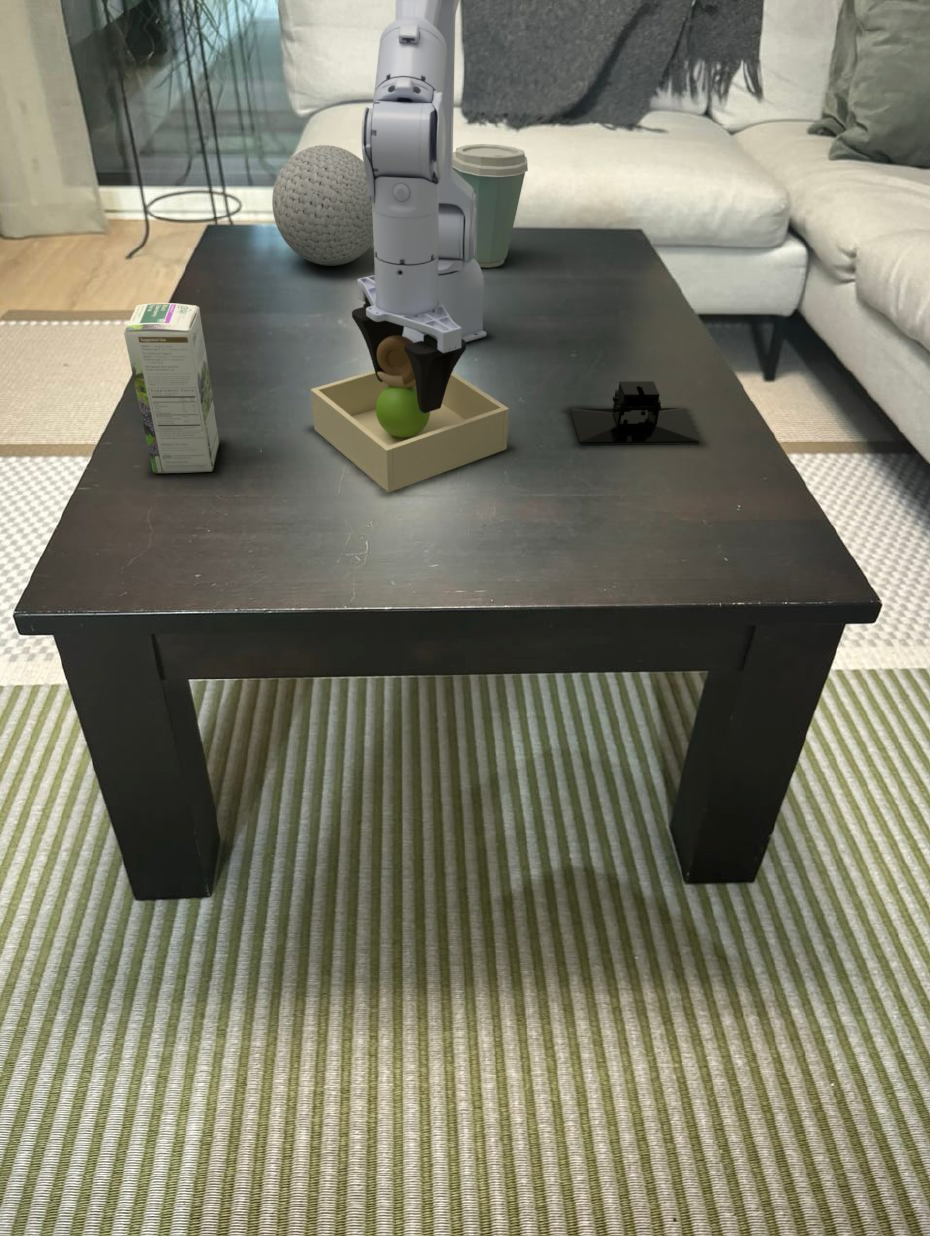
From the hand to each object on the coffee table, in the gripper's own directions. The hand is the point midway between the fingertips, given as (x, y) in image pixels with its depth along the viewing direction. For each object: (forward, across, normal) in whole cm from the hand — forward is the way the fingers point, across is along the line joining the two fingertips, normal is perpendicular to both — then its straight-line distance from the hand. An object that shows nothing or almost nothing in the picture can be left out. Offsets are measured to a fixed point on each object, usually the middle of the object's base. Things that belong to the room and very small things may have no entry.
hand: (408, 393), depth 90 cm
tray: (+5, 0, 0) cm, 5 cm away
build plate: (+5, +11, +21) cm, 24 cm away
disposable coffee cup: (+5, -36, +37) cm, 52 cm away
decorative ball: (+5, -47, +18) cm, 51 cm away
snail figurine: (+5, 0, 0) cm, 5 cm away
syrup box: (+5, -9, -20) cm, 23 cm away
